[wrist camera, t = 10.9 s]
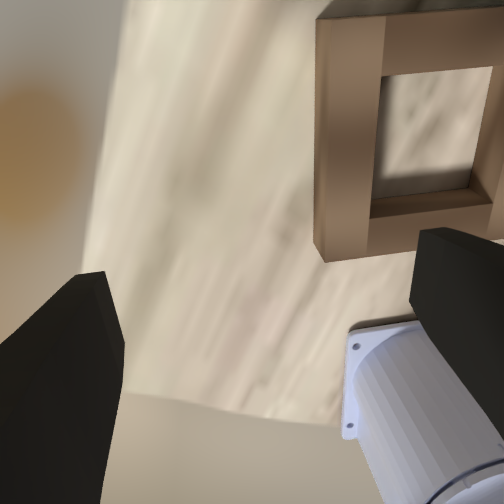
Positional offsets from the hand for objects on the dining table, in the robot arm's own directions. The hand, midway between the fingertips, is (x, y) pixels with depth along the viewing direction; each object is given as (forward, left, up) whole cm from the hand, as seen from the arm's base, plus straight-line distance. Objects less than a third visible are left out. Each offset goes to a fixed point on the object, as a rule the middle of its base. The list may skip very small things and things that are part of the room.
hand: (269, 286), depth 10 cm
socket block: (0, -9, -10) cm, 14 cm away
